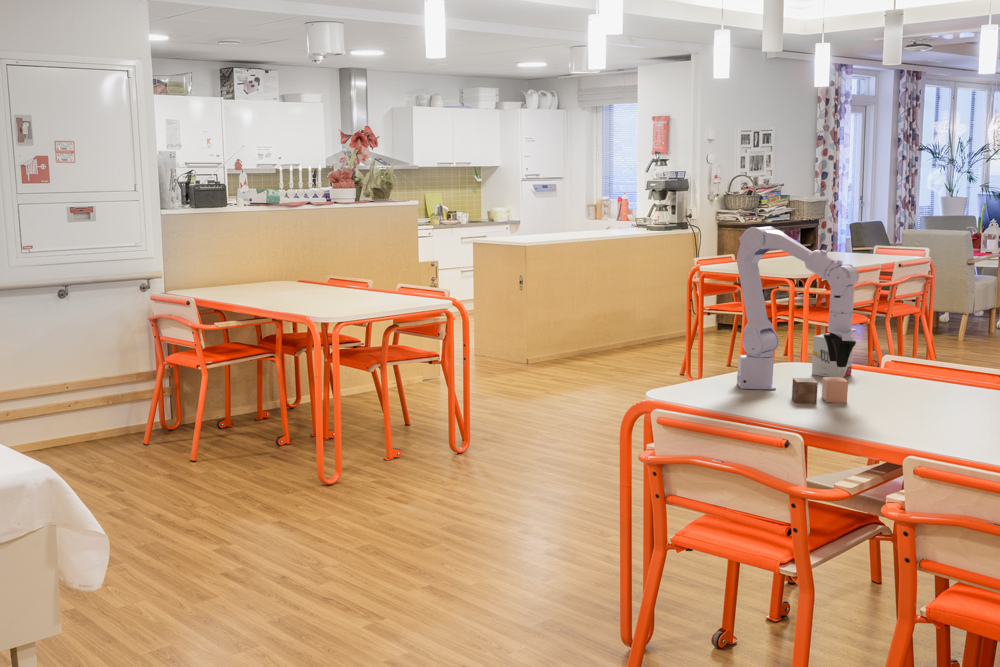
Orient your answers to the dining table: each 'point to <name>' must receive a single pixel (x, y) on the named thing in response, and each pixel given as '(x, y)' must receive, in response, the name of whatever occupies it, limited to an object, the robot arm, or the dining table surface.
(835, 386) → the salmon pink block
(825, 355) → the ink box
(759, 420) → the dining table surface
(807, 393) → the brown block
